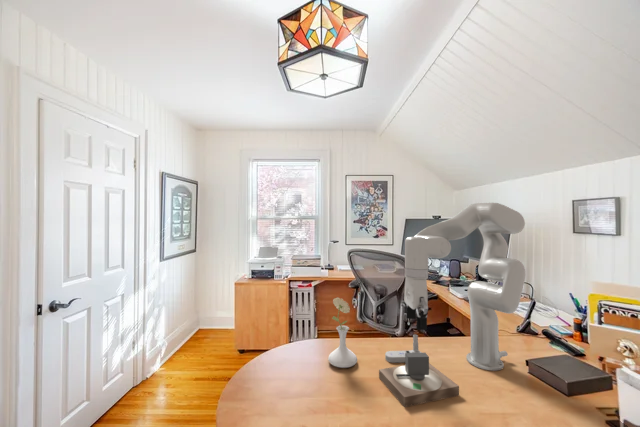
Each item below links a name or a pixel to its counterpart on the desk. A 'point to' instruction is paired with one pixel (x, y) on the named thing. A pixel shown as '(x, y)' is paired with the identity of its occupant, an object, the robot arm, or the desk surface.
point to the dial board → (418, 386)
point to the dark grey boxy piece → (416, 366)
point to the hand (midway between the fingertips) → (416, 323)
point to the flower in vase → (342, 340)
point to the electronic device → (402, 352)
